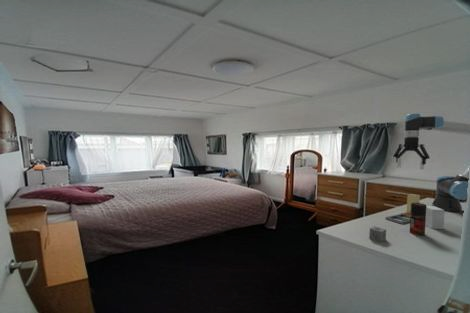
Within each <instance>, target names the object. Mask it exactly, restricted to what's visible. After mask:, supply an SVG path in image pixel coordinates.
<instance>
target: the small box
mask: <svg viewBox="0 0 470 313" xmlns="http://www.w3.org/2000/svg"><path fill="white" fill-rule="evenodd" d="M444 224H445V210H443V209H440V208H438V207H435V206H432V205H427V206H426V222H425V227H428V228H430V229H433V230H434V229H435V230H437V229H438V230H444V227H445V226H444Z"/></svg>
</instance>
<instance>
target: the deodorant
mask: <svg viewBox="0 0 470 313" xmlns="http://www.w3.org/2000/svg"><path fill="white" fill-rule="evenodd" d="M426 206H428V205H427V204H425V203H421V202H419V203H411V216H410V218H409V219H410V222H409V233H410V234H412V235H415V236H419V237H420V236H421V237H422V236H425V235H426V225H425V222H426Z"/></svg>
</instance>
